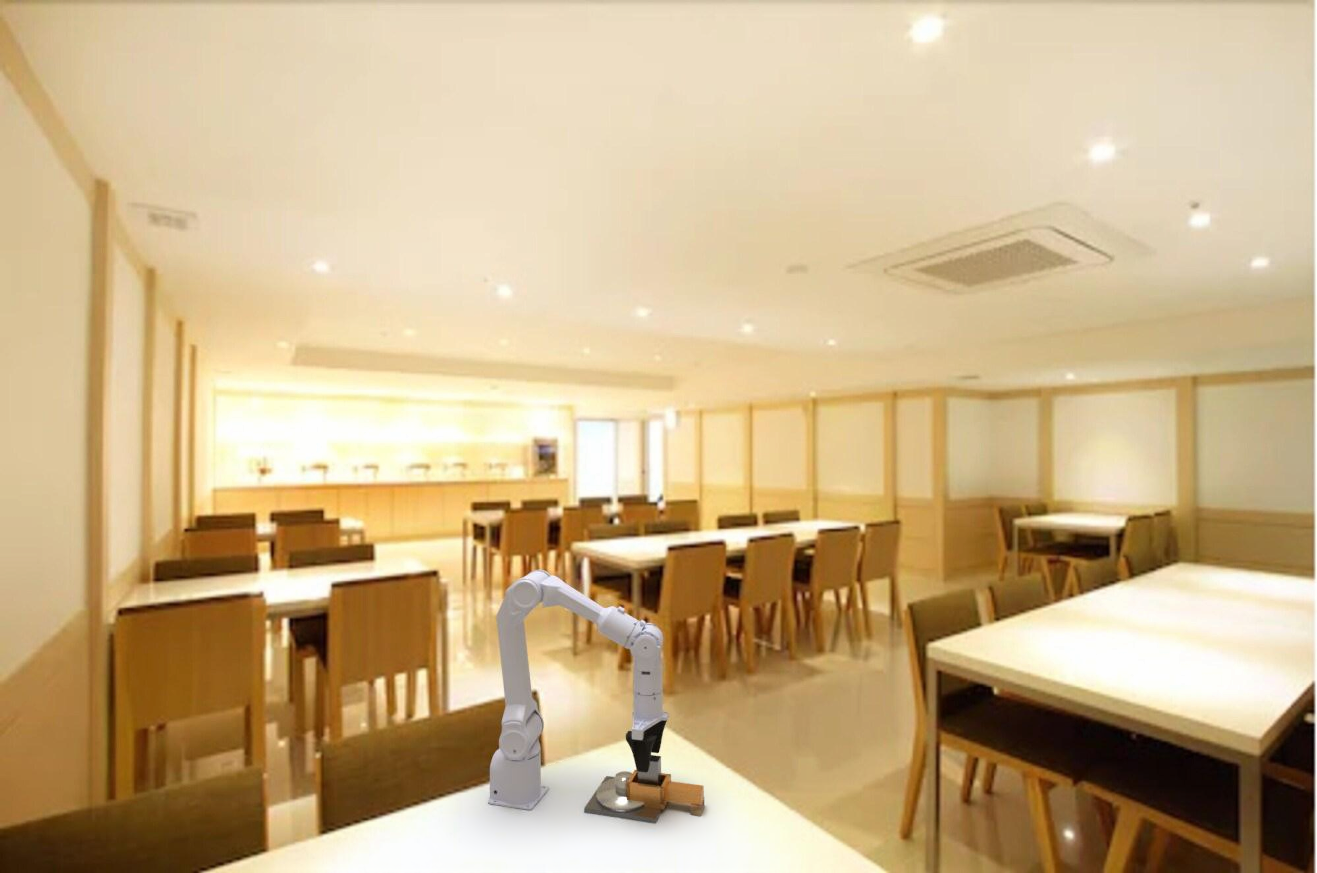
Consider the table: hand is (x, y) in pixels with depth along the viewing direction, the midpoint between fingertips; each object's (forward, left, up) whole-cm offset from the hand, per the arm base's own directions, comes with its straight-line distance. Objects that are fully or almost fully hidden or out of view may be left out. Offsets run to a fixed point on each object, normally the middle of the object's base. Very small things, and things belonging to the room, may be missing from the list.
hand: (648, 761), depth 119 cm
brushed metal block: (0, 0, -6) cm, 6 cm away
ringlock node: (0, 0, -8) cm, 8 cm away
